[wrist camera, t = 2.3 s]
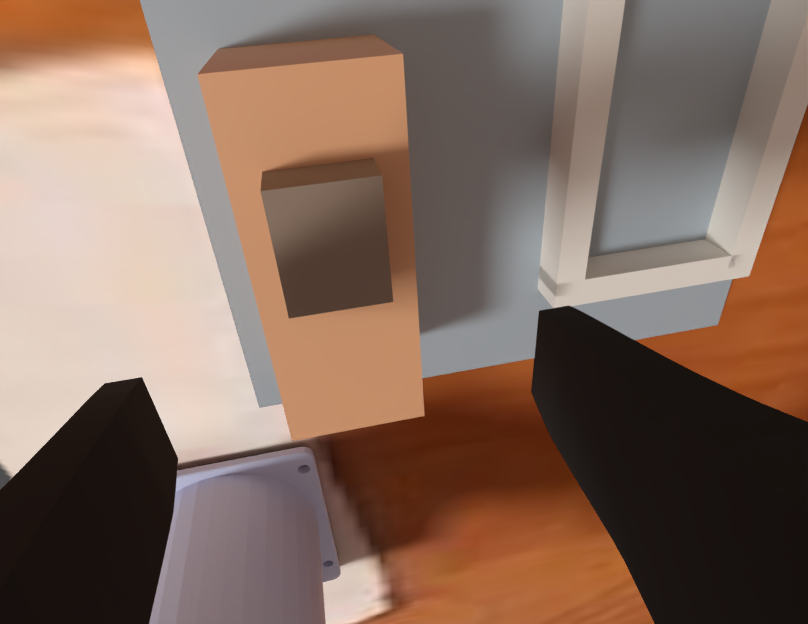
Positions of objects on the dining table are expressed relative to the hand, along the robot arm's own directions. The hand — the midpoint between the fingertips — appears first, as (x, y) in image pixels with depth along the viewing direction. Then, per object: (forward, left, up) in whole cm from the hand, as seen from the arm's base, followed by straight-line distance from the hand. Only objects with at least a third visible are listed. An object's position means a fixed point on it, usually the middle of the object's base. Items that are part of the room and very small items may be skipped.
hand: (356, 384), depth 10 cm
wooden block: (0, 0, -8) cm, 8 cm away
